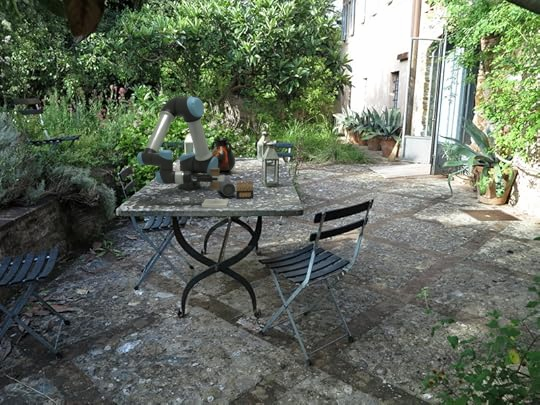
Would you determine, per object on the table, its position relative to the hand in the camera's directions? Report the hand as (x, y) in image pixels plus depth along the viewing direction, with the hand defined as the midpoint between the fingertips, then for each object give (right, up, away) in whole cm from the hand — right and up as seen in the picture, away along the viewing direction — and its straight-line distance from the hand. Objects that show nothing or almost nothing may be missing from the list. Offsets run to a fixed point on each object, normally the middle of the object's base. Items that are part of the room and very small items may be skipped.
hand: (224, 178), depth 262 cm
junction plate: (-5, -15, +4) cm, 17 cm away
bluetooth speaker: (-2, -9, +30) cm, 32 cm away
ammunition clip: (+11, -12, +19) cm, 25 cm away
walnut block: (-5, -6, +2) cm, 8 cm away
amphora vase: (-12, +9, +100) cm, 101 cm away
